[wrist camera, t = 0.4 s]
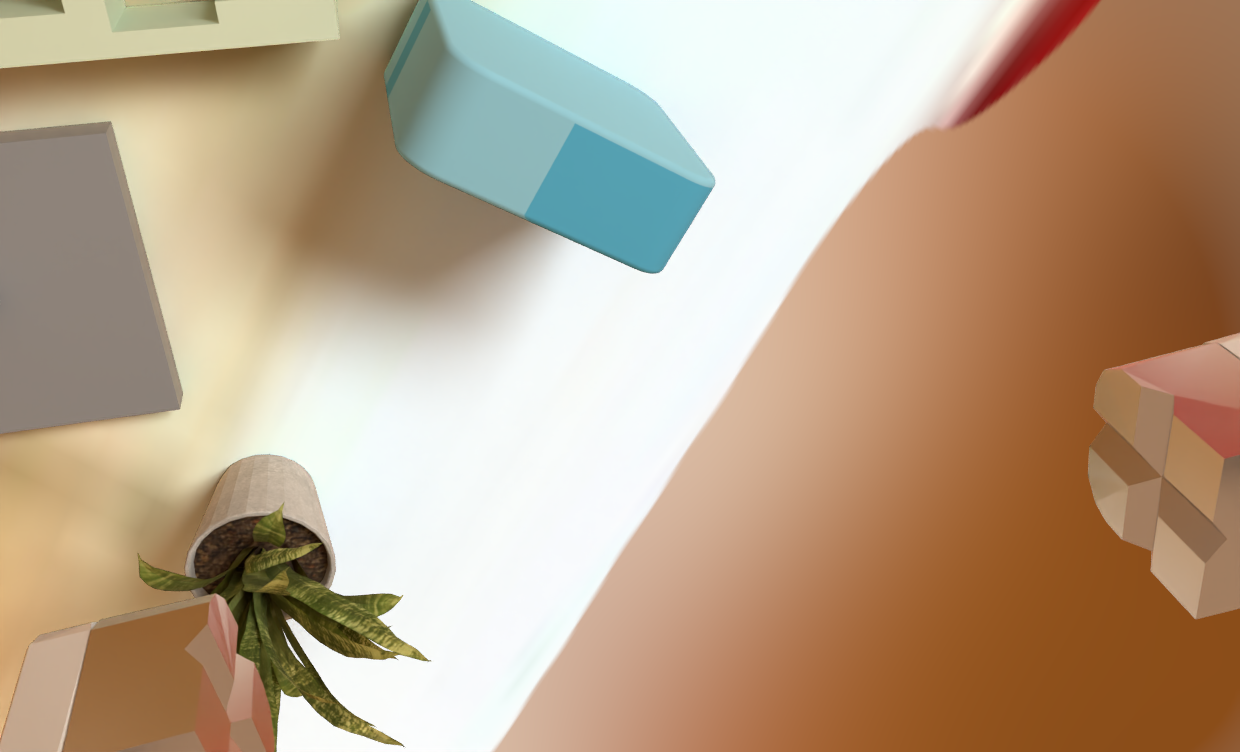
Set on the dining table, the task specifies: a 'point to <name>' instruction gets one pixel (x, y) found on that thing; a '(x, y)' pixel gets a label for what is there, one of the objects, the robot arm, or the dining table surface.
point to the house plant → (282, 584)
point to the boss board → (75, 286)
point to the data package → (541, 134)
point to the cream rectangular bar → (153, 28)
